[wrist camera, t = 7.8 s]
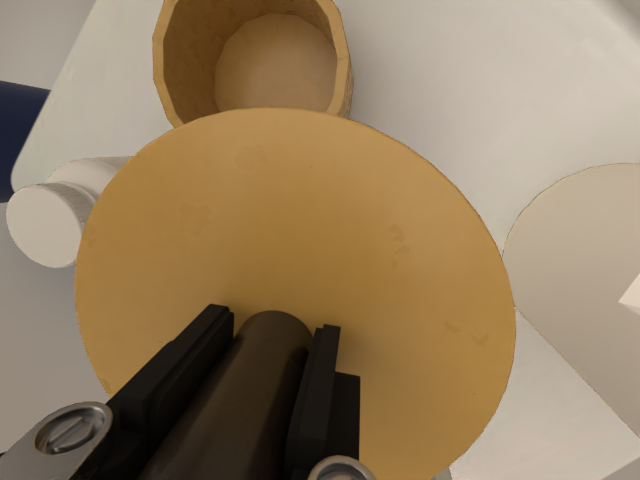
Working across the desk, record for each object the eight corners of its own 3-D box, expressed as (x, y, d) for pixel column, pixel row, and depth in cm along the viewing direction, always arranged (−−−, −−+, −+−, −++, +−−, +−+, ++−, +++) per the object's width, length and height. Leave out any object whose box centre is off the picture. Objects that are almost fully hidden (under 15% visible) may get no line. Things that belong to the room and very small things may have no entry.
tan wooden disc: (113, 437, 14) (-114, 700, 8) (83, 86, 10) (-496, -44, 3) (442, 512, 13) (530, 915, 6) (565, 143, 9) (1261, 124, 2)
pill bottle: (163, 238, 35) (26, 300, 21) (131, 168, 34) (-41, 182, 19) (226, 219, 34) (125, 271, 19) (196, 143, 32) (61, 140, 18)
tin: (207, 156, 32) (154, 159, 24) (211, -1, 28) (149, -62, 20) (340, 175, 31) (332, 184, 23) (364, 13, 27) (364, -45, 19)
